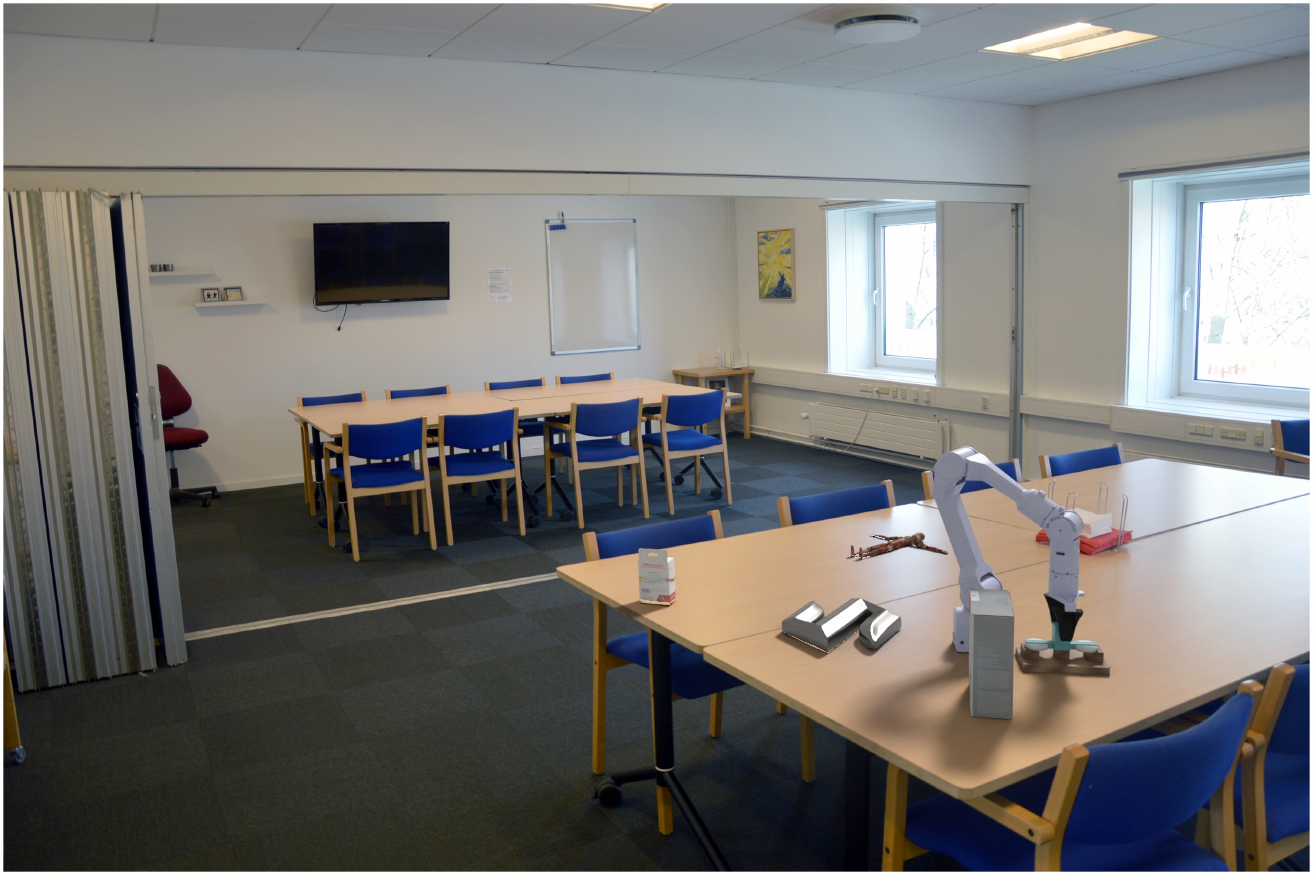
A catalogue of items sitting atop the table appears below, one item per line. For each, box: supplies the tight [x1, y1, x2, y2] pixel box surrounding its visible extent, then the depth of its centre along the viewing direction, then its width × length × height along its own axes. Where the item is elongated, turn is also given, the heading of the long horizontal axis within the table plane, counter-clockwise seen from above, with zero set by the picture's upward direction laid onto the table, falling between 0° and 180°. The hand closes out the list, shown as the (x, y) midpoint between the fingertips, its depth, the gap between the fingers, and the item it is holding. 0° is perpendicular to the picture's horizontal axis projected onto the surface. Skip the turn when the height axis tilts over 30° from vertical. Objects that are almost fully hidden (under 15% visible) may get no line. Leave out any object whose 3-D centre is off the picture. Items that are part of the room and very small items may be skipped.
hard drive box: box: [968, 588, 1015, 720], centre depth 181 cm, size 16×8×20 cm, turn 163°
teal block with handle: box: [1024, 622, 1099, 653], centre depth 199 cm, size 14×5×5 cm, turn 79°
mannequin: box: [850, 531, 949, 558], centre depth 297 cm, size 26×29×4 cm
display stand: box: [1015, 642, 1111, 676], centre depth 199 cm, size 16×10×4 cm, turn 79°
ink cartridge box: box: [637, 547, 677, 603], centre depth 248 cm, size 9×5×15 cm, turn 68°
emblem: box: [781, 597, 902, 652], centre depth 223 cm, size 28×5×28 cm
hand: (1061, 634), depth 199 cm, fingers open, 7 cm apart
